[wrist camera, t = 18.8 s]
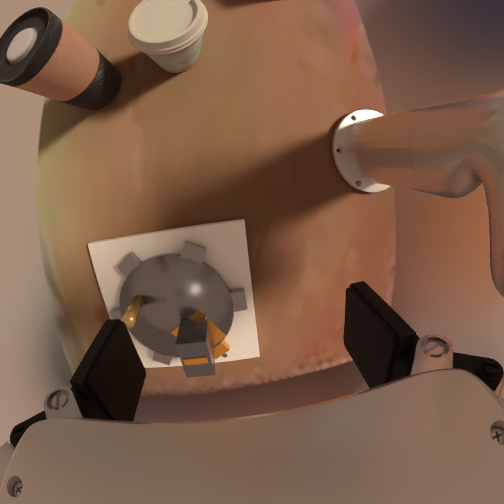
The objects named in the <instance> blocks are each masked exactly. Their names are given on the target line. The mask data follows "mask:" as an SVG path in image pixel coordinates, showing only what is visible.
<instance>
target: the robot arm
mask: <svg viewBox="0 0 504 504" xmlns="http://www.w3.org/2000/svg"><path fill="white" fill-rule="evenodd" d="M351 118H352V120H351ZM337 149H338V152H337ZM332 154H333V159H334V163H335V165H336V168H337V170H338V171H339V173H340V175H341V176H342V177H343V179H344V180H345V181H346V182H347V183H348V184H350V185H351V186H352V187H354V188H356V189H358V190H361V191H364V192H370V193H374V192H380V191H384V190H385V189H387V188H389V187H390V186H394V187H399V188H404V189H410V190H414V191H419V192H423V193H427V194H432V195H437V196H441V197H445V198H460V197H464V196H466V195H468V194H470V193H471V192H473V191H474V190H475V189H476V188H478V187H479V186H480V185H481V183H483V186H484V189H485V195H486V203H487V207H488V216H489V235H490V269H491V276H492V280H493V283H494V285H495V287H496V289H497V290H498V292H499V293H500V294H501V295H502V296H503V297H504V89H502V90H499V91H495V92H492V93H489V94H486V95H482V96H479V97H475V98H471V99H467V100H464V101H458V102H453V103H448V104H442V105H435V106H429V107H424V108H417V109H412V110H406V111H401V112H396V113H391V114H386V115H382V114H381V113H378V112H376V111H373V110H358V111H354V112H352V113H349V114H348V115H346V116H345V117H344V118H343V119H342V120H341V121H340V122H339V123H338V125H337V127H336V129H335V131H334V134H333V139H332ZM356 181H357V184H356ZM344 345H345V347H346V349H347V351H348V352H349V354H350V356H351V357H352V359H353V361H354V362H355V364H356V366H357V367H358V369H359V370H360V372H361V374H362V376H363V378H364V379H365V381H366V383H367V384H368V386H369V388H370V389H368V390H364V391H361V392H358V393H355V394H351V395H348V396H344V397H341V398H337V399H333V400H329V401H325V402H322V403H317V404H313V405H309V406H304V407H299V408H295V409H290V410H284V411H279V412H274V413H267V414H261V415H254V416H247V417H239V418H230V419H221V420H208V421H190V422H133V420H134V416H135V412H136V409H137V405H138V401H139V398H140V394H141V391H142V387H143V384H144V380H145V377H146V371H145V368H144V365H143V363H142V361H141V359H140V357H139V355H138V352H137V350H136V348H135V346H134V343H133V341H132V339H131V336H130V334H129V331H128V329H127V327H126V324H125V323H124V322H122V321H121V320H120V319H110V320H106V322H105V323H104V325H103V326H102V328H101V329H100V331H99V333H98V334H97V336H96V338H95V339H94V341H93V342H92V344H91V346H90V347H89V349H88V351H87V352H86V354H85V356H84V358H83V359H82V361H81V363H80V364H79V366H78V368H77V370H76V372H75V373H74V375H73V377H72V379H71V381H70V383H71V384H72V388H71V389H69V388H67V387H58V388H55V389H53V390H52V391H50V392H49V393H48V394H47V396H46V397H45V400H44V409H45V410H44V411H43V412H41V413H39V414H37V415H35V416H33V417H31V418H30V419H28V420H26V421H24V422H22V423H20V424H18V425H16V426H15V427H14V428H13V430H12V432H11V435H10V442H11V443H9V442H8V441H7V442H6V443H5V444H4V445H2V446H1V447H0V504H504V372H503V368H502V366H501V365H500V364H499V363H498V362H497V361H495V360H494V359H490V358H485V357H479V356H472V355H466V354H460V353H454V352H453V347H452V344H451V342H450V341H449V340H448V339H446V338H445V337H443V336H440V335H433V334H430V335H426V336H424V337H422V338H419V337H418V336H417V335H416V332H415V331H414V330H413V329H412V328H411V327H410V326H409V325H408V324H407V323H406V322H405V321H404V320H403V319H402V318H401V317H400V316H399V315H398V314H397V313H396V312H395V311H394V310H393V309H392V308H391V307H390V306H389V305H388V304H387V303H386V302H385V301H384V300H383V299H382V298H381V297H380V296H379V295H378V294H377V293H376V292H375V291H374V290H373V289H371V288H370V287H369V286H368V285H367V284H366V283H365V282H364V281H362V282H357V283H353V284H350V287H349V288H347V289H346V305H345V325H344Z"/></svg>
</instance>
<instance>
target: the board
mask: <svg viewBox="0 0 504 504" xmlns="http://www.w3.org/2000/svg"><path fill="white" fill-rule="evenodd" d="M185 240H186V241H189V242H192V243H195V244H198V245H201V246H204V247H207V249H206V253H205V256H204V258H203V262H204V263H206V264H208V265H209V266H210V267H212V268H213V269H214V270H215V271H216V272H217V273H219V275H220V276H221V277H222V278H223V279H224V281H225V283H226V284H227V286H228V288H229V290H232V289H237V288H243V287H244V292H245V297H246V303H247V308H248V309H247V310H242V311H237V312H234V317H233V322H232V326H231V329H230V331H229V332H228V334H227V336H226V337H225V339H224V341H225V342H226V343H227V344H228V345H230V350H229V351H228V352H226V353H225V354H223V355H222V356H220V357H219V358H217V359H215V363H216V362H225V361H233V360H240V359H248V358H254V357H260V355H259V346H258V338H257V329H256V320H255V311H254V302H253V293H252V284H251V275H250V266H249V257H248V248H247V239H246V230H245V220H244V219H239V220H231V221H223V222H216V223H208V224H201V225H194V226H187V227H180V228H173V229H167V230H160V231H154V232H147V233H141V234H135V235H129V236H123V237H117V238H111V239H105V240H100V241H94V242H90V243H89V244H88V247H89V251H90V255H91V259H92V263H93V266H94V270H95V273H96V277H97V280H98V283H99V287H100V290H101V293H102V296H103V299H104V302H105V305H106V308H107V311H108V313H109V312H110V310H111V309H113V308H120V304H119V298H120V292H121V288H122V285H123V283H124V281H125V279H126V278H127V277H125V276H124V275H123V274H122V273H121V271H120V270H119V269H118V268H117V266H118V265H119V264H120V263H121V262H122V261H123V260H124V259H125V258H126V257H127V256H128V255H129V254H130V253H131V252H132V251H133V252H134V253H135V254H136V256H137V257H138V258H139V259H140V260H141V261H144V260H146V259H148V258H150V257H153V256H156V255H160V254H168V253H171V254H181V252H182V249H183V246H184V243H185ZM109 316H110V314H109ZM110 319H112V318H111V316H110ZM128 331H129V330H128ZM129 334H130V336H131V339H132V341H133V343H134V346H135V348H136V350H137V352H138V355H139V357H140V359H141V361H142V363H143V365H144V368H150V367H170V366H183V365H182V363H181V360H180V357H172V359H171V362H170V365H167V364H163V363H160V362H157V361H153V360H152V359H153V354H154V351H153V350H150V349H149V348H147V347H146V346H144V345H143V344H141V343H140V342H139V341H138V340H137V339H136V338H135V337H134V336H133V335H132V334H131V333H130V331H129Z"/></svg>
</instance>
